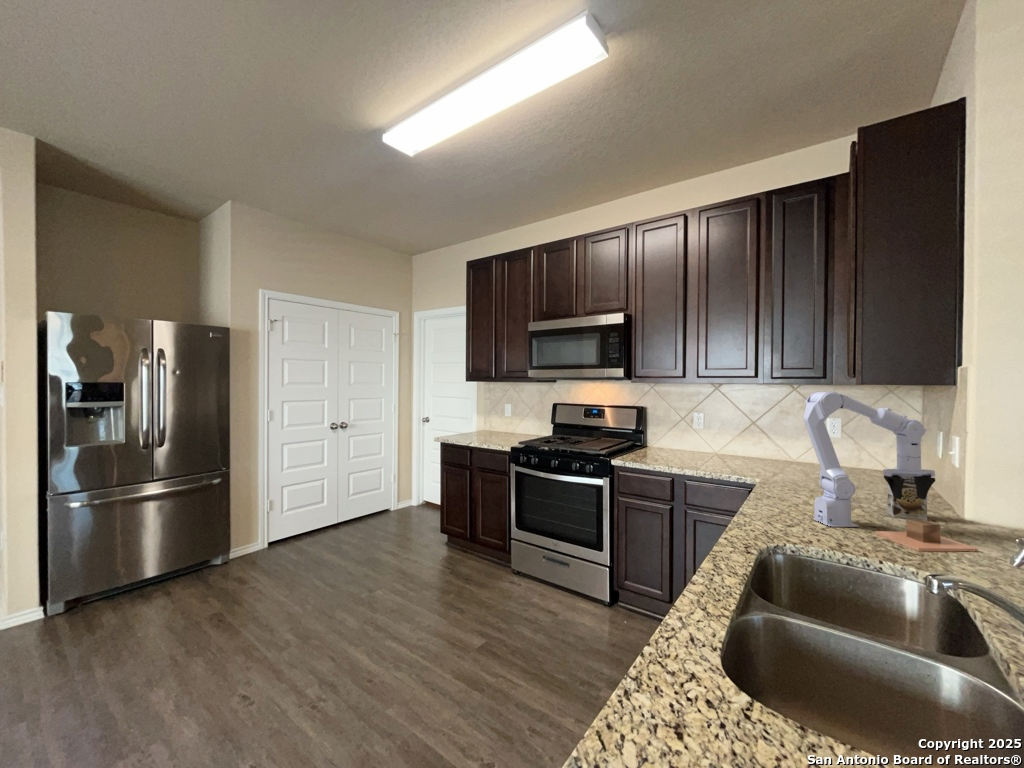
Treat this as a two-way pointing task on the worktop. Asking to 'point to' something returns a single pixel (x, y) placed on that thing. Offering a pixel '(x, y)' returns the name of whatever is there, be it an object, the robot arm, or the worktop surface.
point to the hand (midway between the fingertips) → (909, 498)
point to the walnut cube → (923, 531)
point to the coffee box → (907, 502)
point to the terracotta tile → (925, 546)
